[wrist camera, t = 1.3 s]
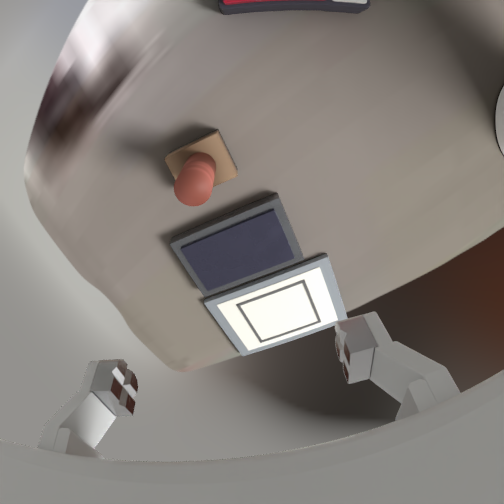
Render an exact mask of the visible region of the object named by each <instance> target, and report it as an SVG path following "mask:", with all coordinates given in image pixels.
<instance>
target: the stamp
mask: <svg viewBox="0 0 504 504" xmlns="http://www.w3.org/2000/svg"><path fill="white" fill-rule="evenodd" d="M164 160H165V162H166V164H167V165H168V167H169V169H170V171H171V173H172V175H173V176H174V178H175V180H176V181H175V184H174V192H175V195H176V197H177V198H178V200H179V201H180V202H182V203H183V204H185V205H188V206H199V205H201V204H203V203H205V202H206V201H207V200H208V199H209V197H210V195H211V192H212V187H214V186H216V185H219V184H221V183H223V182H225V181H228V180H230V179H232V178H235V177H237V176H238V175H237V167H236V165H235V163H234V161H233V159H232V157H231V155H230V152H229V150H228V148H227V146H226V144H225V142H224V140H223V138H222V136H221V134H220V132H219V130H215V131H213V132H211V133H209V134H207V135H205V136H203V137H200V138H198V139H196V140H194V141H192V142H190V143H188V144H186V145H184V146H182V147H180V148H178V149H176V150H174V151H172V152H170V153H169V154H168V155H167V156H166V158H165V159H164Z"/></svg>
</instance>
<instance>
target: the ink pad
mask: <svg viewBox="0 0 504 504" xmlns="http://www.w3.org/2000/svg"><path fill="white" fill-rule="evenodd" d="M170 246H171V247H172V249H173V250H174V252H175V253H176V255H177V256H178V258H179V260H180V261H181V263H182V264H183V266H184V267H185V269H186V270H187V272H188V273H189V275H190V276H191V278H192V279H193V281H194V282H195V284H196V285H197V287H198V288H199V289H200V291H201V292H202V294H203V295H204V297H206V296H209V295H212V294H215V293H217V292H220V291H223V290H226V289H228V288H231V287H234V286H236V285H239V284H242V283H244V282H247V281H250V280H252V279H255V278H258V277H260V276H263V275H266V274H268V273H271V272H274V271H276V270H279V269H281V268H284V267H287V266H289V265H292V264H294V263H297V262H300V261H302V260H304V257H303V254H302V251H301V249H300V246H299V244H298V242H297V239H296V237H295V234H294V232H293V229H292V227H291V224H290V222H289V220H288V217H287V215H286V212H285V210H284V208H283V205H282V203H281V200H280V198H279V196H278V193H275V194H273V195H271V196H268V197H266V198H263V199H261V200H258V201H256V202H253V203H251V204H249V205H246V206H244V207H241V208H239V209H237V210H234V211H232V212H230V213H227V214H225V215H223V216H220V217H218V218H216V219H213V220H211V221H209V222H206V223H204V224H202V225H200V226H197V227H195V228H193V229H190V230H188V231H186V232H184V233H181V234H179V235H177V236H175V237H173V238H172V239H171V242H170Z"/></svg>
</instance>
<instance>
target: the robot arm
mask: <svg viewBox="0 0 504 504" xmlns="http://www.w3.org/2000/svg"><path fill="white" fill-rule="evenodd" d="M496 134H497V139H498V143H499V146H500V149H501V151H502V153H503V155H504V86H503V88H502V90H501V92H500V95H499V98H498V102H497V107H496ZM335 330H336V333H337V336H336V337H335V344H336V350H337V354H338V357H339V360H340V361H341V362H342V363H343V371H344V374H345V376H346V379H347V382H348V384H351V383H354V382H358V381H362V380H366V379H369V378H370V380H371V381H373V382H374V383H375V384H377V385H378V386H379V387H380V388H382V389H383V390H384V391H386V392H387V393H388V394H390V395H391V396H392V397H394V398H395V399H396V400H398V401H399V402H400V403H402V404H401V407H400V409H399V411H398V414H397V416H396V418H395V419H396V421H395V422H392V423H389V424H387V425H384V426H380V427H377V428H374V429H371V430H369V431H365V432H362V433H359V434H355V435H352V436H348V437H344V438H341V439H338V440H333V441H329V442H325V443H321V444H317V445H312V446H308V447H303V448H298V449H293V450H288V451H282V452H276V453H270V454H263V455H257V456H249V457H240V458H232V459H220V460H207V461H184V462H147V461H126V460H112V459H103V456H102V454H101V453H99V452H98V451H97V450H95V449H94V448H95V447H96V445H97V444H98V442H99V441H100V440H101V438H102V437H103V435H104V434H105V432H106V431H107V429H108V428H109V427H110V425H111V424H112V422H113V421H114V420H115V418H116V417H115V416H133V413H134V408H135V400H134V399H133V397H134V396H135V395H136V394H137V391H138V382H137V378H136V376H135V374H134V373H133V372H132V371H130V370H129V369H127V363H126V362H125V361H124V360H123V359H116V360H100V361H91V362H90V363H89V364H88V367H87V369H86V372H85V375H84V379H83V381H82V385H81V387H80V391H79V392H76V393H75V394H74V395H73V396H72V397H71V398H70V399H69V400H68V401H67V402H66V403H65V404H64V405H63V406H62V407H61V408H60V409H59V410H58V411H57V412H56V413H55V414H54V415H53V416H52V417H51V418H50V420H48V421H47V422H46V424H45V425H44V428H43V431H42V434H41V438H40V441H39V445H38V448H34V447H30V446H26V445H22V444H18V443H14V442H10V441H7V440H4V439H0V504H504V370H502V371H501V372H499V373H497V374H496V375H494V376H492V377H490V378H489V379H487V380H485V381H483V382H481V383H480V384H478V385H476V386H474V387H472V388H470V389H469V390H466V391H464V392H462V393H460V391H459V390H458V388H457V386H456V384H455V383H454V381H453V379H452V377H451V375H450V374H449V372H448V370H447V369H446V367H444V366H442V365H440V364H438V363H436V362H435V361H433V360H431V359H429V358H427V357H425V356H423V355H422V354H420V353H418V352H416V351H414V350H412V349H410V348H408V347H406V346H405V345H402V344H401V343H399V342H397V341H395V342H392V340H391V338H390V336H389V334H388V333H387V331H386V329H385V327H384V325H383V324H382V322H381V320H380V318H379V317H378V315H377V313H376V312H370V313H367V314H364V315H359V316H356V317H353V318H348V319H345V320H341V321H337V322H336V323H335Z"/></svg>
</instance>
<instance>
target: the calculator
mask: <svg viewBox="0 0 504 504" xmlns="http://www.w3.org/2000/svg"><path fill="white" fill-rule="evenodd" d="M218 4H219V8H220V11H221V13H222V14H224V15H229V14H238V13H249V12H263V11H283V10H322V11H332V12H346V13H360V12H362V11H364V10H366V9H368V8H369V7H370V0H218Z"/></svg>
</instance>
